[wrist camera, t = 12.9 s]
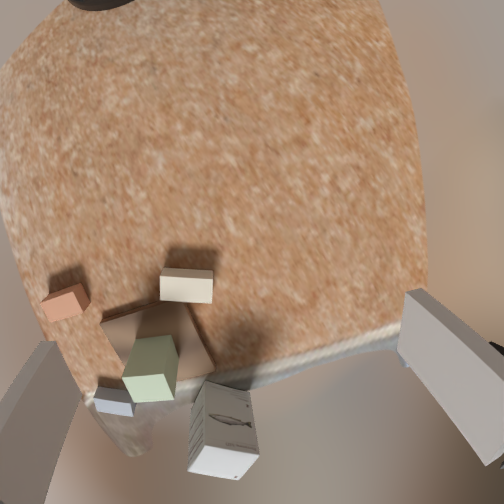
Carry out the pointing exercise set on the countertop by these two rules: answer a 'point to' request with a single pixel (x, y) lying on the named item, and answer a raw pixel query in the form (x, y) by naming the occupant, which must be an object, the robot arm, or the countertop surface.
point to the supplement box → (222, 432)
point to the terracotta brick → (65, 303)
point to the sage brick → (152, 369)
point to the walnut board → (159, 324)
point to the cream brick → (186, 285)
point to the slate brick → (114, 401)
